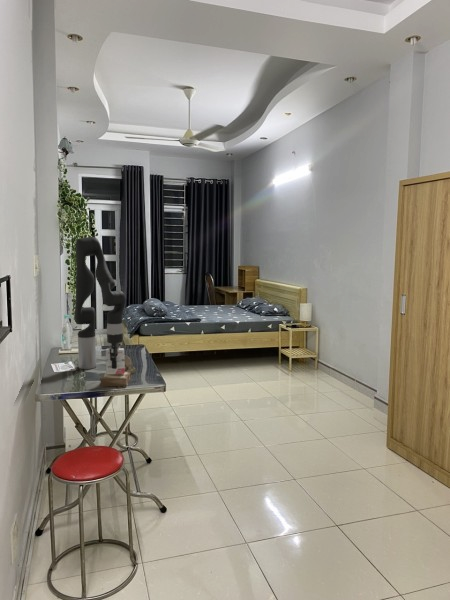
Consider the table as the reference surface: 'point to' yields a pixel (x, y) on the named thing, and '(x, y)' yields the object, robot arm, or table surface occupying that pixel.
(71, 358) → the table surface
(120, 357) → the ink box
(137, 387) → the table surface
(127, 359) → the ceramic model
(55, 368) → the table surface
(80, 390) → the table surface
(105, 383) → the base
